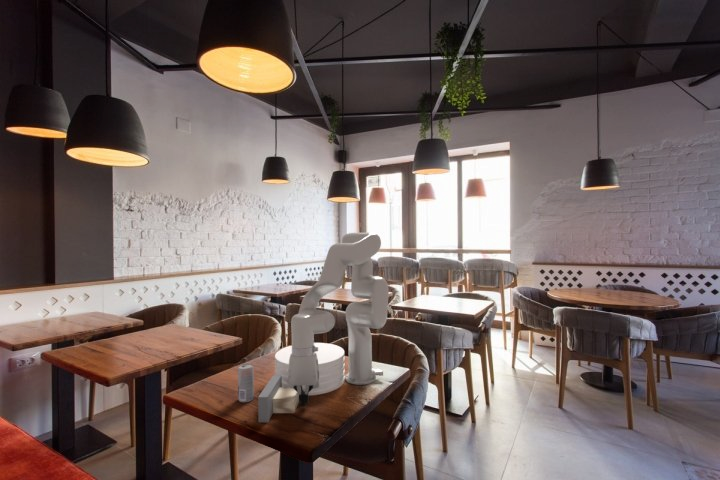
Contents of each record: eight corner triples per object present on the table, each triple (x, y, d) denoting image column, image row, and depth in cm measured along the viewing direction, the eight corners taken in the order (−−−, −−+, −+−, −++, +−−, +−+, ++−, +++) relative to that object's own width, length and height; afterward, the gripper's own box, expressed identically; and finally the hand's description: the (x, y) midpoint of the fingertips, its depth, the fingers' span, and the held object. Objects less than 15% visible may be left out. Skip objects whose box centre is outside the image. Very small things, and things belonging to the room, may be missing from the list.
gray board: (281, 396, 130) (281, 375, 130) (267, 422, 112) (267, 397, 112) (273, 396, 130) (273, 375, 130) (258, 422, 112) (258, 397, 112)
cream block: (299, 401, 126) (299, 387, 126) (294, 413, 117) (293, 398, 117) (279, 401, 127) (279, 387, 127) (273, 413, 118) (272, 398, 118)
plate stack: (356, 374, 150) (356, 347, 150) (320, 402, 125) (319, 369, 125) (303, 364, 163) (302, 339, 163) (260, 387, 138) (259, 358, 138)
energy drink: (248, 394, 132) (248, 362, 132) (256, 398, 128) (256, 365, 128) (235, 399, 127) (234, 366, 127) (243, 404, 124) (243, 370, 124)
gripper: (326, 347, 124) (327, 399, 124) (283, 347, 124) (284, 399, 124) (323, 354, 116) (324, 409, 116) (278, 354, 117) (279, 409, 117)
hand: (303, 404), depth 120 cm, fingers closed
